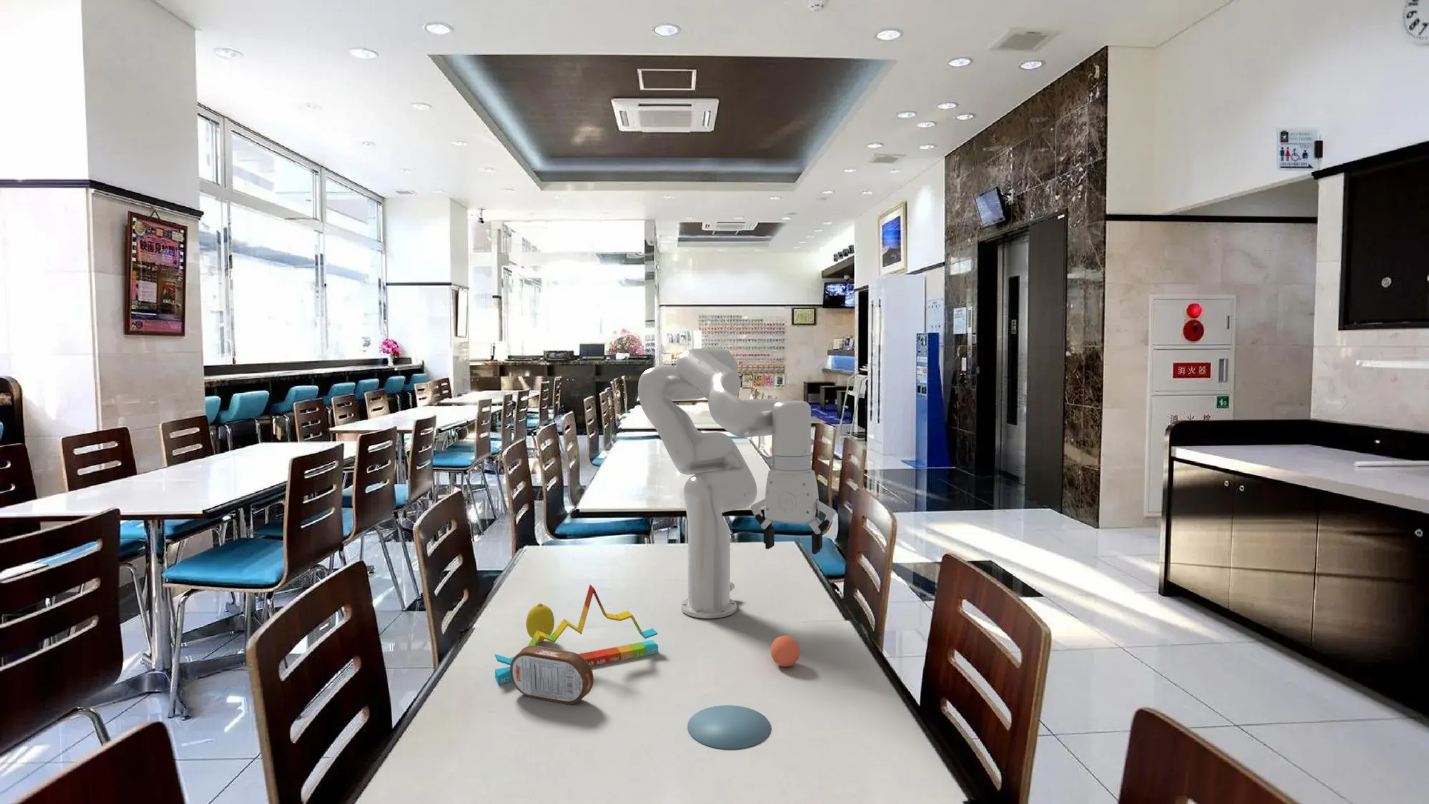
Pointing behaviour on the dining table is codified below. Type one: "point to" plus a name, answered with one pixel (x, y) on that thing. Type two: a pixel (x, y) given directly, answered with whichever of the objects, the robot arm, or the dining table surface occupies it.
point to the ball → (785, 651)
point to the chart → (593, 656)
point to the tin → (551, 674)
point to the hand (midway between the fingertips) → (792, 550)
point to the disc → (729, 727)
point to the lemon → (540, 620)
